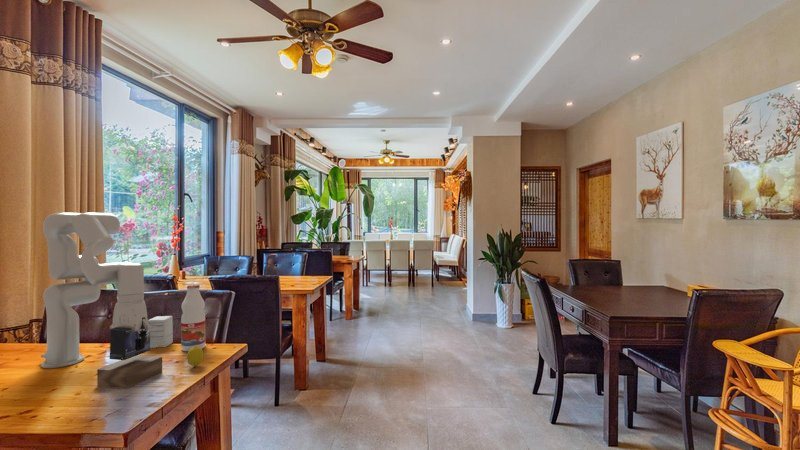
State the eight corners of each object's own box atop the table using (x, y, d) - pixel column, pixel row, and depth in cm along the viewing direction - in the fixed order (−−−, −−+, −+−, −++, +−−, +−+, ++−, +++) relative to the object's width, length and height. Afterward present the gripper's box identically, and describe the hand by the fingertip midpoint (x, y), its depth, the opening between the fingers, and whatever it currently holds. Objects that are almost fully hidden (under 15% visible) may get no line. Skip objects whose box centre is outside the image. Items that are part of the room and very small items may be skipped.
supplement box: (156, 343, 170) (156, 316, 170) (173, 342, 170) (173, 315, 171) (147, 348, 162) (146, 320, 163) (164, 347, 163) (164, 319, 163)
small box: (124, 360, 123) (124, 329, 123) (108, 359, 125) (108, 328, 125) (151, 350, 134) (151, 321, 134) (136, 349, 135) (136, 321, 135)
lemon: (206, 365, 142) (206, 344, 142) (194, 370, 136) (194, 348, 137) (196, 363, 144) (196, 343, 144) (183, 368, 138) (183, 347, 138)
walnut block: (97, 387, 123) (97, 369, 123) (134, 371, 137) (134, 355, 137) (127, 389, 121) (127, 371, 121) (162, 373, 135) (162, 356, 135)
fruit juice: (208, 344, 168) (207, 283, 168) (202, 350, 158) (201, 286, 159) (185, 345, 165) (185, 284, 166) (177, 352, 156) (177, 287, 157)
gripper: (99, 300, 127) (99, 351, 127) (143, 300, 125) (144, 353, 124) (118, 296, 134) (118, 344, 134) (161, 296, 132) (161, 346, 132)
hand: (131, 348), depth 129 cm, fingers closed on small box, 6 cm apart
